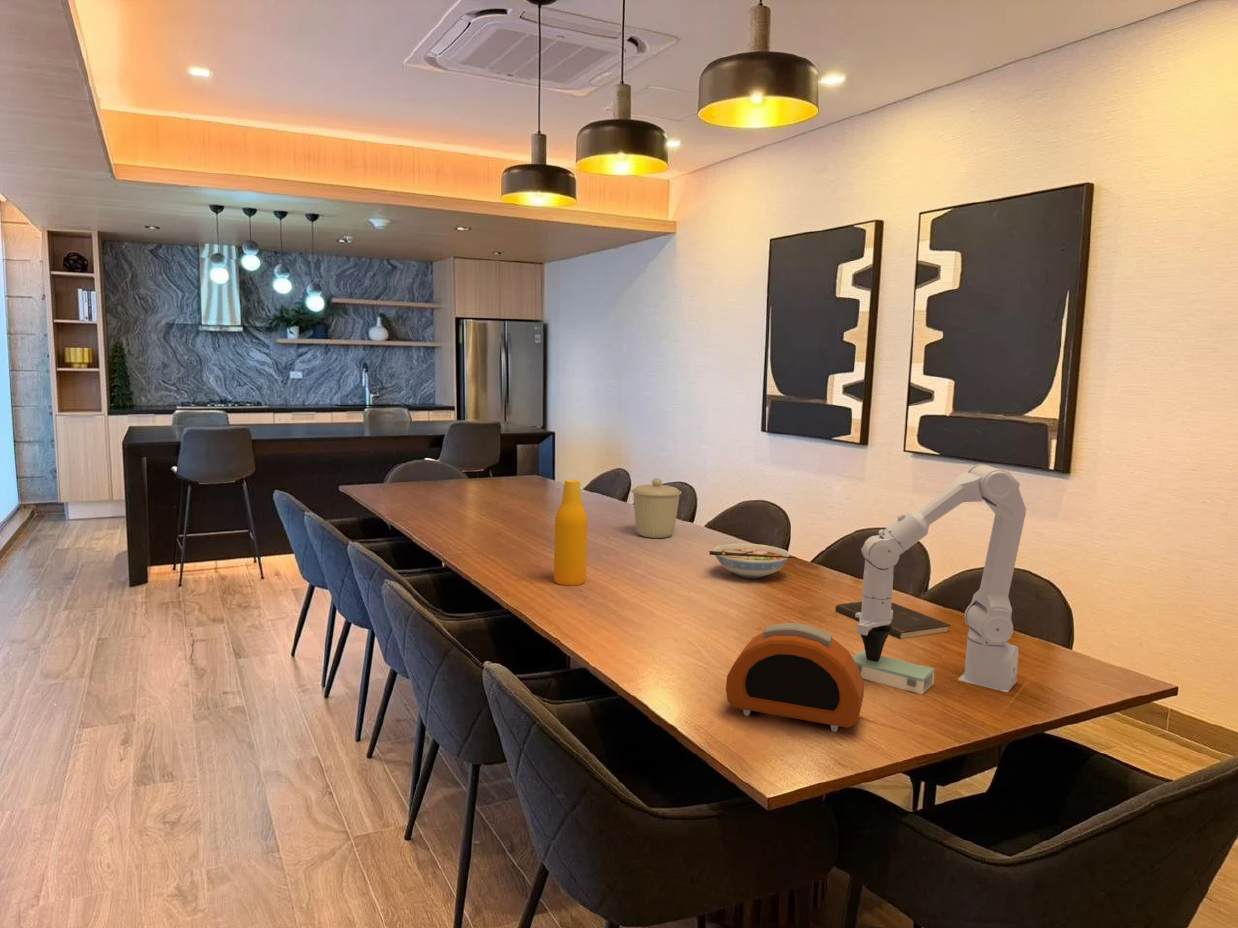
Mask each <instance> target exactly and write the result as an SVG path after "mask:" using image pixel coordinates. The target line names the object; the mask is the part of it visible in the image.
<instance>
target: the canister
mask: <svg viewBox="0 0 1238 928" xmlns="http://www.w3.org/2000/svg"><path fill="white" fill-rule="evenodd" d="M662 482H663V481H662V480H661V478H659V477H658V478H656V477H654V478H653V479H652V480H651V484H642V485H637V486H635V487H634V488H633V489H631V493H632V494H633V509H634V510H633V511H634V520H635V529H636V532H637V534H638V535H640V536H641V537H644V538H650V539H651V538H652V539H665V538H668V537H671V536H672V535H673V533H674V531H675V528H676V522H677V515H678V509H679V501H680V495H681V494H682V491H681V490H679V489H678V488H677V487H675V486H670V485H664V484H662Z"/></svg>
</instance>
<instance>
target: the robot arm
mask: <svg viewBox="0 0 1238 928" xmlns="http://www.w3.org/2000/svg"><path fill="white" fill-rule="evenodd" d="M983 501H984V503H986V504H987V506H988V507H989V508H990V509H991V511H992V512H993V513H994V517H993V523H992V527H991V532H990V533H991V534H990V537H989V541H988V547H987V552H986V557H985V561H984V567H983V572H982V575H981V576H982V577H981V581H980V586H979V589H978V590H977V591H975V593H974V594H973V596H972V600H971V602H970V604H969V605H968V606H967V608H966V609H965V611H964V621H965V623H966V625H967V626H968V627H969V628H968V629H969V630H968V632H967V637H966V639H967V641H966V652H965V664H964V665H965V666H964V673H963V674H962V675H960V677H958V678H957V680H958V681H960V682H964V683H968V684H973V685H976V686H981V687H984V688H988V689H992V690H995V691H1000V692H1004V693H1008V692H1009V691H1010V690H1011V689H1012V687H1014V685H1015V684H1016V683H1017V682H1018V681H1017V677H1018V676H1017V675H1018V667H1019V666H1018V665H1019V653H1020V651H1019V647H1018V646H1017V645H1015V644H1011V643H1009V642H1008V641H1009V640H1010V639H1011V638H1012V636H1013V633H1014V624H1013V621H1012V613H1013V608H1012V606H1011V603H1010V598H1009V594H1010V590H1011V589H1010V588H1011V584H1012V581H1013V580H1012V579H1013V575H1014V571H1015V565H1016V562H1017V561H1016V560H1017V556H1018V552H1019V546H1020V542H1021V537H1022V533H1023V528H1024V523H1025V518H1026V513H1027V512H1026V511H1027V508H1026V505H1025V502H1024V500H1023V497H1022V494H1021V491H1020V482H1019V481H1018V479H1016V478H1015V477H1014V476H1013V475H1012V474H1011V472H1009V471H1007V470H1006V469H1002V468H996V467H993V466H991V465H988V464H986V463H978V464H974V465H973V466H971V467H970V468H969V469H968V471H964V472H963V473H961V474H960V475H958V477H956V479H955V480H954V481H953V482H952V483H950V484H949V485H948V486H947V487H945V489H944V490H942V491H941V492H940V493H939V494H937V495H936V496H935V497H933V499H931V500H930V501H929V502H928V503H927V504H925V506H923V507H922V508H921V509H920V510H918V511H916V512H913V511H906V513H905V514H904V513H901V512H900V514H898V515H897V516H896V518H897V520H895V521H894V522H893V523H892V524H890V525H889V526H887V527H886V528H884V529H880V530H879V531H878V532H877V533H878V534H877V535H872V536H869V537H868V538H867V539H866V540H865V541H864V544H863V546H862V547H861V549H860V550H861V555H862V556H863V558H864V559H865V560H864V569H863V570H864V571H863V577H862V578H863V580H862V592H861V593H862V595H861V596H862V597H861V602H862V609H861V612H858V613H856V614H855V617H857V618H860V621H858V623H857V624H856V634H858V635H860V637H861V640H862V642H863V647H864V651H865V653H866V658H867V660H871V661H875V662H877V661H879V659H880V656H882V652H883V649H884V646H885V643H886V641H887V638H888V637H889V636H890V635H889V634H890V632H891V631H892V627H891V626H887V625H888V624H890V623H891V620H892V619H893V610H891V604H892V603H893V585H894V566H896V565H897V564H898V562H899V559H900V555H901V554H904V553H905V552H906V551H907V550H909V549H910V548H912V547H913V546H914V545H915V544H917V543H918V542H919V541H921V540H922V539H923V538H924V537H926V536H927V535H928V533H929V528H930V525H932V524H933V523H935V522H936V521H937V520H939V519H940V518H943V516H945V515H946V514H948V513H949V512H951V511H953V510H954V509H955V508H957V507H958V506H960V505H961V504H963V503H975V502H977V503H979V502H983Z"/></svg>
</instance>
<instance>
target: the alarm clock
mask: <svg viewBox="0 0 1238 928" xmlns="http://www.w3.org/2000/svg"><path fill="white" fill-rule="evenodd" d="M852 657H853V656H852V654H851V653H850V651H848V649H847V648H846V647H844V646H843V645H842V644H841V643H840V642H839V641H837V640H836V639H834V638H833V635H832V634H831V633H829V632H827V631H825V630H823V629H820V628H818V627H814V626H811V625H807V624H804V623H800V622H799V623H798V622H797V623H795V622H786V623H785V622H784V623H783V622H781V623H776V624H771V625H768V626H766V628H764V631H763V632H761V633H759V634H757V635H755V636H754V637H752V639H751V640H750V641H749V642H748V643H747V644H746V645H745V646H744V648H743V650H742V651H741V652H740V654H739V655H738V657H737V658H736V659H735V661H734V663H733V665H732V666H731V668H730V670H729V671H728V673H727V675H726V682H725V683H726V684H725V693H726V699H727V702H728V703H729V704H730V705H731V706H732V707H733V709H734V708H735V709H740V710H742V712H743V715H744V716H745V717H749V716H750V714H751V712H758V713H761V714H767V715H773V716H779V717H785V718H789V719H790V718H791V719H796V720H803V721H808V722H814V723H819V724H824V725H829V726H830V729H831V732H835V733H837V731H838V728H839V727H840V728H841V727H842V728H847V729H848V728H850V727H852V726H854V725H857V723H858V719H859V717H860V714H861V709H862V705H863V701H864V697H865V696H864V693H865V691H864V690H865V689H864V688H865V681H864V679H862V676H861V674H860V671H859V669H858V666H857V664H856V663H855V661H854V659H853V658H852Z"/></svg>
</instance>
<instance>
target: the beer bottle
mask: <svg viewBox="0 0 1238 928" xmlns="http://www.w3.org/2000/svg"><path fill="white" fill-rule="evenodd" d="M587 547H588V516H587V513H586V509H585V508H584V506H583V503H582V494H581V483H580V480H579V479H566V480H564V483H563V491H562V499H561V503H560V505H559V507H558V509H557V512H556V514H555V519H554V548H553V549H554V552H553V553H554V554H553V555H554V557H553V558H554V559H553V561H554V562H553V580H554V582H556V584H557V585H560V586H567V587H572V586H573V587H574V586H580V585H583V584H585V582H586V580H587V556H588V555H587V549H588V548H587Z"/></svg>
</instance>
